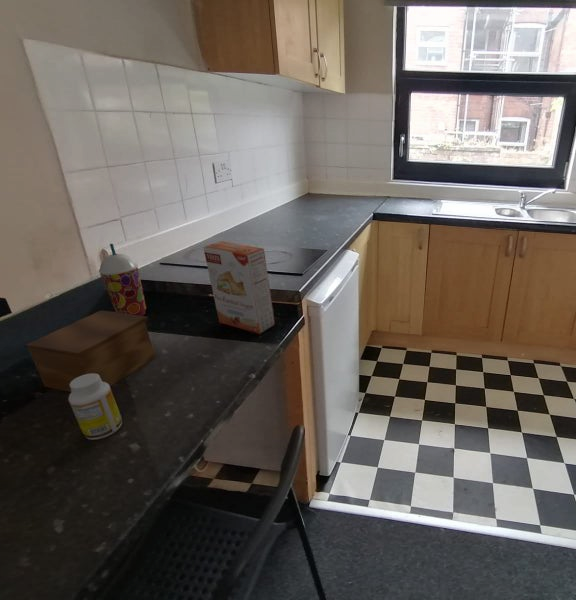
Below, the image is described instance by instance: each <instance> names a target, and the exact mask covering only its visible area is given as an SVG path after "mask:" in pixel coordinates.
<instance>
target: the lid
mask: <svg viewBox="0 0 576 600" xmlns="http://www.w3.org/2000/svg"><path fill="white" fill-rule="evenodd" d="M148 321H149V317H148V316H145V315H143V316H139V315H131V314H124V313H117V312H116V311H109V310H102V309H101V310H99V311H96V312H95V313H91V314H90V315H88V316H86V317H83V318H81V319H79V320H76V321H75V322H72V323H71V324H68V325H66V326H64V327H61V328H59V329H56V330H55V331H53V332H51V333H48V334H46V335H44V336H42V337H40V338H38V339H35V340H33V341H31V342H29V343H27V344H26V348H27V349H35V350H41V351H47V352H52V353H58V354H64V355H70V356H76V357H81V356H83V355H85V354H87V353H89V352H91V351H92V350H94V349H96V348H98V347H100V346H102V345H103V344H105V343H107V342H109V341H111V340H113V339H115V338H116V337H118V336H120V335H122V334H124V333H126V332H127V331H129V330H131V329H133V328H135V327H137V326H138V325H140V324H142V323H144V322H145V323H147V322H148Z"/></svg>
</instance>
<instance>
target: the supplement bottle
mask: <svg viewBox="0 0 576 600" xmlns="http://www.w3.org/2000/svg"><path fill="white" fill-rule="evenodd" d="M70 388H71V392H70V394H68V399H67V400H68V403H69V405H70V407H71V409H72V412H73V414H74V416H75V420H76V421H77V424H78V426H79V428H80V430H81V433H82V436H83V437H84V438H85V439H88V440H92V441H94V440H95V441H96V440H103V439H105V438H107V437H109V436H111V435H113V434H115V433H116V432H117V431H119V429H120V428H121V427H122V425H123V418H122V415H121V412H120V409H119V407H118V404H117V402H116V399H115V397H114V394H113V391H112V388H111V387H110V386H109V384H108V383H106V382H102V380H101V378H100V376H99V375H98V374H94V373H92V374H86V375H82V376H79V377H77V378H75V379H74V380H72V381H71V383H70Z"/></svg>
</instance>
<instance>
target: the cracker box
mask: <svg viewBox="0 0 576 600" xmlns="http://www.w3.org/2000/svg"><path fill="white" fill-rule="evenodd" d="M202 248H203V251H204V257H205V262H206V267H207V270H208V276H209V279H210V280H209V281H210V284H211V291H212V294H213V299H214V304H215V309H216V314H217V317H218V322H219V324H223V325H226V326H230V327H234V328H237V329H240V330H244V331H247V332H251V333H255V334H258V335H261V334H262V333H264V332H266V331H267V330H269V329H271V328H272V327H274V326H275V325H276V322H275V321H276V320H275V315H274V308H273V303H272V295H271V287H270V280H269V274H268V273H269V272H268V267H267V260H266V253H265V248H264V247H258V246H251V245H247V244H240V243H235V242H229V241H224V240H221V241H217V242H214V243H211V244H208V245H205V246H203V247H202Z"/></svg>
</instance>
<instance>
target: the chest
mask: <svg viewBox="0 0 576 600" xmlns="http://www.w3.org/2000/svg"><path fill="white" fill-rule="evenodd" d="M27 349H28V353H29V354H30V356H31V358H32V361H33V363H34V365H35V368H36V370H37V373H38V375H39V377H40V379H41V381H42V384H43V386H44V387H45V388H48V389H49V388H50V389H54V390H60V391H64V392H68V393H71V388H70V383H71V381H72V380H74V379H75V378H77V377H79V376H82V375H86V374H92V373H94V374H98V375H99V376H100V378H101V380H102V382H106V383H108V384H109V386H110V388H111V387H113V386H114V385H116V384H118V382H120V381H121V380H123V379H124V378H126V377H128V376H129V375H131V374H132V373H134V372H135V371H137V370H139V367H140V368H141V367H143V366H144V365H146V364H147V363H149V362H150V361H152V360H153V359H155V358H156V355H155V352H154V347H153V344H152V341H151V338H150V334H149V331H148V327H147V324H146V322H144V323H142V324H140V325H138V326H137V327H135V328H133V329H131V330H129V331H127V332H126V333H124V334H122V335H120V336H118V337H116V338H115V339H113V340H111V341H109V342H107V343H105V344H103V345H102V346H100V347H98V348H96V349H94V350H92V351H91V352H89V353H87V354H85V355H83V356H81V357H76V356H70V355H64V354H58V353H52V352H47V351H41V350H35V349H29V348H27ZM154 357H155V358H154ZM151 359H152V360H151ZM148 361H149V362H148Z"/></svg>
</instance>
